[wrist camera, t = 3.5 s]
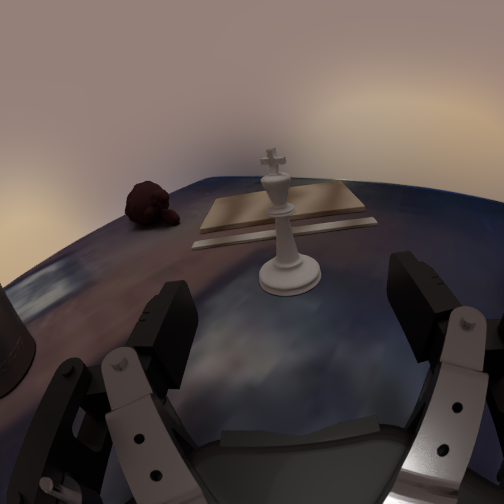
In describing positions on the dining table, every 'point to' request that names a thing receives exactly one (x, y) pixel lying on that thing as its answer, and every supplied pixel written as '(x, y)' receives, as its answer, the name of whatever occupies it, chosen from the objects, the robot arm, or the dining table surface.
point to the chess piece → (284, 239)
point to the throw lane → (307, 206)
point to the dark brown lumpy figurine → (149, 204)
